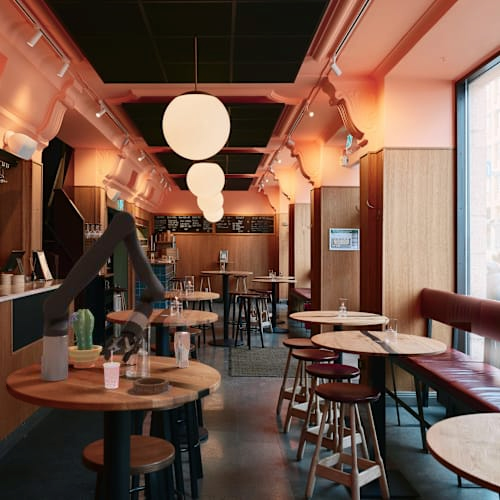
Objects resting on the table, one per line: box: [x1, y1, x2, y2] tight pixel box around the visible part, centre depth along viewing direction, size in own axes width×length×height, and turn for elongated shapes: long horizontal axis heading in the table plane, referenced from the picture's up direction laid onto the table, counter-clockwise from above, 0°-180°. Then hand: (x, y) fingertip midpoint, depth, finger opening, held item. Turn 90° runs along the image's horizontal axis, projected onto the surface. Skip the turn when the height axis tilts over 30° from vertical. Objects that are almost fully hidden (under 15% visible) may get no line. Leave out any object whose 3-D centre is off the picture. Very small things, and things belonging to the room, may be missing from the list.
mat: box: [128, 384, 173, 395], centre depth 190 cm, size 14×12×1 cm
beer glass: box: [173, 331, 191, 369], centre depth 232 cm, size 7×7×15 cm
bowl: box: [132, 376, 170, 395], centre depth 190 cm, size 12×12×3 cm
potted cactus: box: [68, 308, 103, 369], centre depth 232 cm, size 15×15×25 cm
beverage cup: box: [102, 350, 121, 390], centre depth 194 cm, size 6×6×14 cm
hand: (114, 360), depth 195 cm, fingers open, 8 cm apart
